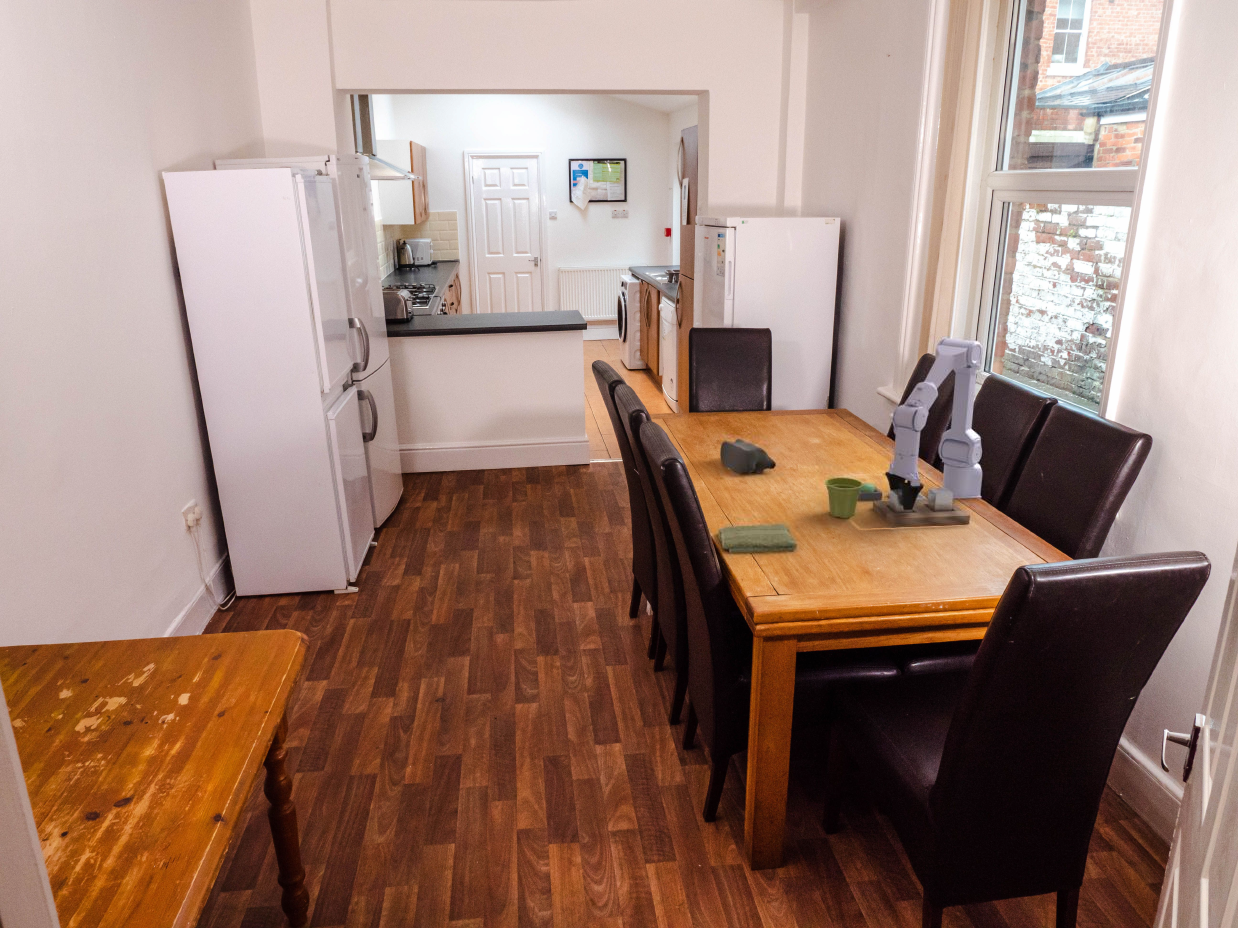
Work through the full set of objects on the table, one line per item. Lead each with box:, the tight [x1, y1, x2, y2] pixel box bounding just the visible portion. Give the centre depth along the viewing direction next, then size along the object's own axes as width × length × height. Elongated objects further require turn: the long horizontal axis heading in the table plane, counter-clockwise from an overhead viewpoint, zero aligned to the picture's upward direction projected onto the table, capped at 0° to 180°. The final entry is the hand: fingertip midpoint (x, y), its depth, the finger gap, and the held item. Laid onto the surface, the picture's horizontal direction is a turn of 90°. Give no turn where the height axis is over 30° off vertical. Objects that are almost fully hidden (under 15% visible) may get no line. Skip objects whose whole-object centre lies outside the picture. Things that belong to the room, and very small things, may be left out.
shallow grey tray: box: [887, 491, 928, 500], centre depth 235 cm, size 8×7×2 cm
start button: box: [861, 482, 876, 492], centre depth 237 cm, size 4×4×3 cm
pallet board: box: [871, 498, 971, 529], centre depth 222 cm, size 20×13×2 cm, turn 95°
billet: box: [888, 489, 913, 513], centre depth 221 cm, size 4×4×7 cm
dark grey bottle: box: [719, 438, 777, 474], centre depth 264 cm, size 18×11×8 cm, turn 26°
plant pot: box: [824, 477, 863, 519], centre depth 224 cm, size 9×9×9 cm
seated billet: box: [927, 487, 954, 512], centre depth 222 cm, size 4×4×7 cm
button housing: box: [858, 486, 883, 502], centre depth 237 cm, size 6×6×2 cm
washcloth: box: [718, 523, 798, 554], centre depth 207 cm, size 13×18×3 cm
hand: (901, 504), depth 221 cm, fingers open, 7 cm apart
